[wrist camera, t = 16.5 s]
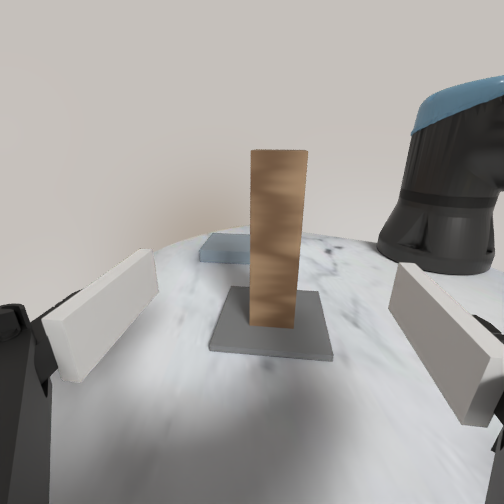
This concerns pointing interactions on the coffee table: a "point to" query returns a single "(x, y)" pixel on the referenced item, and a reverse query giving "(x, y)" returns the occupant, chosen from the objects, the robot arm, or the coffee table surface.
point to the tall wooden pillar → (275, 234)
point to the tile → (226, 249)
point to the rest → (273, 329)
